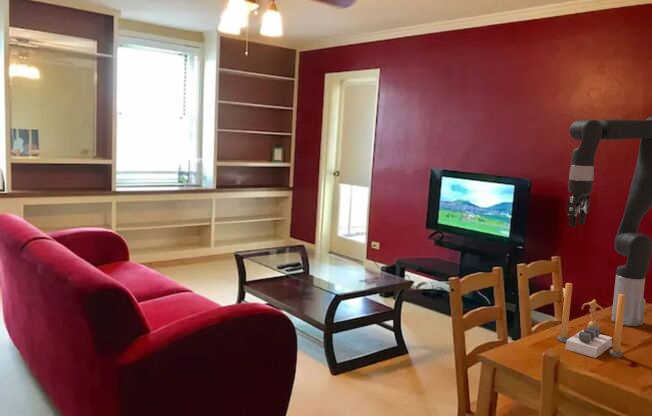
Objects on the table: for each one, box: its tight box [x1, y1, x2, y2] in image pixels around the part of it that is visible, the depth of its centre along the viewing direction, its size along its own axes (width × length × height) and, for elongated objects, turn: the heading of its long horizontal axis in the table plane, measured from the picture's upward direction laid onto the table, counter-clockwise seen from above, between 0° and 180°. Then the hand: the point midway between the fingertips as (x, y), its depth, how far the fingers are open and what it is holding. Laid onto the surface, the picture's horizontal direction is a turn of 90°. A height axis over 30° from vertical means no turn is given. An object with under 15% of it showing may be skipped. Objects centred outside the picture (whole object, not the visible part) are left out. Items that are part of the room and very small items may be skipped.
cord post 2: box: [608, 294, 626, 359], centre depth 167 cm, size 4×4×19 cm
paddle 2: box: [587, 325, 601, 337], centre depth 176 cm, size 2×3×2 cm, turn 45°
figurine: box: [581, 298, 608, 329], centre depth 187 cm, size 8×6×12 cm
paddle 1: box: [578, 330, 591, 343], centre depth 170 cm, size 2×3×2 cm, turn 45°
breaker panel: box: [565, 329, 613, 359], centre depth 174 cm, size 14×9×3 cm, turn 135°
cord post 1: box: [557, 282, 573, 344], centre depth 178 cm, size 4×4×19 cm
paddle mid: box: [583, 327, 596, 340], centre depth 173 cm, size 2×3×2 cm, turn 45°
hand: (576, 225), depth 189 cm, fingers open, 8 cm apart
